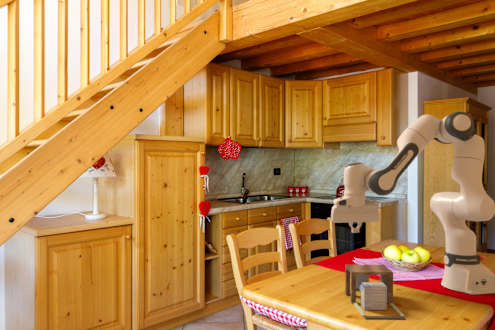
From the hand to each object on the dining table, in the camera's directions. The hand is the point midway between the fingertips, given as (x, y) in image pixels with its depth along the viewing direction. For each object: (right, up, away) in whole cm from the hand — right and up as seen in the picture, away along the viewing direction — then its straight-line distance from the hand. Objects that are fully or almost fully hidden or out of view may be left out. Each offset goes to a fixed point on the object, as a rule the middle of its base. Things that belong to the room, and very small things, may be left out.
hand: (355, 232), depth 163 cm
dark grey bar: (-1, -22, -38) cm, 43 cm away
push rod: (-1, -21, -18) cm, 28 cm away
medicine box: (-2, -22, -29) cm, 36 cm away
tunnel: (-1, -22, -20) cm, 29 cm away
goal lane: (-1, -22, -31) cm, 38 cm away
